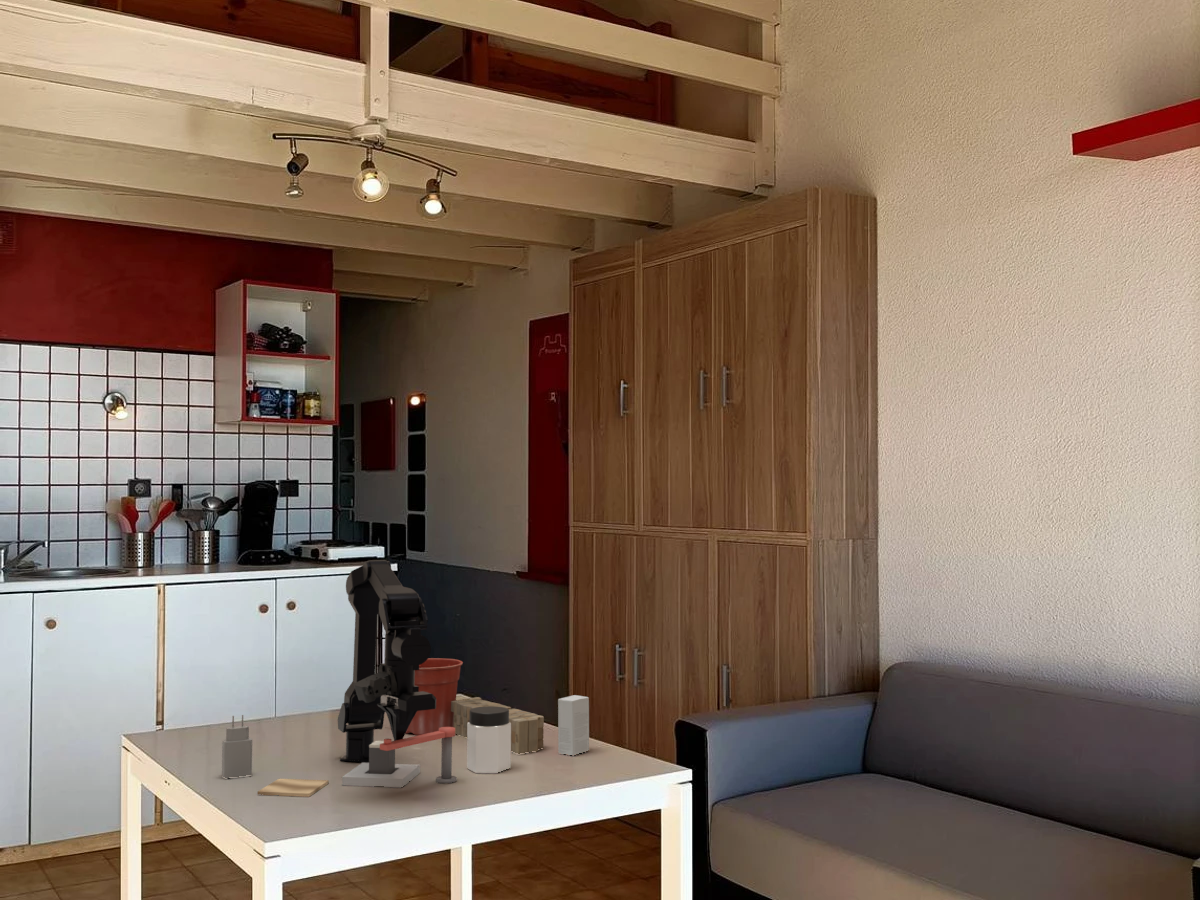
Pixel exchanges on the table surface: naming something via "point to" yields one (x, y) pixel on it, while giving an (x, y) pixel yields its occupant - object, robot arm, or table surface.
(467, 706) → the block tower
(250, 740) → the power adapter
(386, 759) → the plug
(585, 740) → the skincare box
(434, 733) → the pink lever
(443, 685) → the flower pot
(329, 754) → the table surface
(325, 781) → the wooden pad
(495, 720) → the jar
